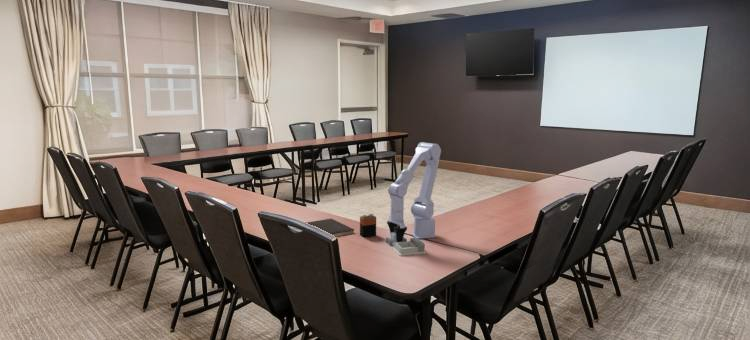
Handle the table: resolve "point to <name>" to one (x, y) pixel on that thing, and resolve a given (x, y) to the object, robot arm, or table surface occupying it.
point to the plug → (393, 237)
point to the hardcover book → (332, 227)
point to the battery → (368, 225)
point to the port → (409, 247)
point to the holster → (391, 240)
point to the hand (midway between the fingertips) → (396, 239)
